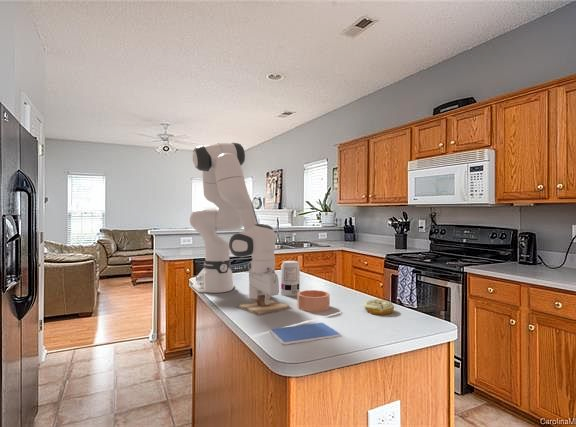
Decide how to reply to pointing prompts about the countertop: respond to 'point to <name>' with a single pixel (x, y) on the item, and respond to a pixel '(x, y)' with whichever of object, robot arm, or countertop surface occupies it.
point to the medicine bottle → (253, 292)
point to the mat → (262, 314)
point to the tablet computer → (303, 333)
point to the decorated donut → (379, 307)
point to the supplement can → (290, 278)
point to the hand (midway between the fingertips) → (263, 302)
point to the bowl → (313, 300)
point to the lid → (263, 306)
